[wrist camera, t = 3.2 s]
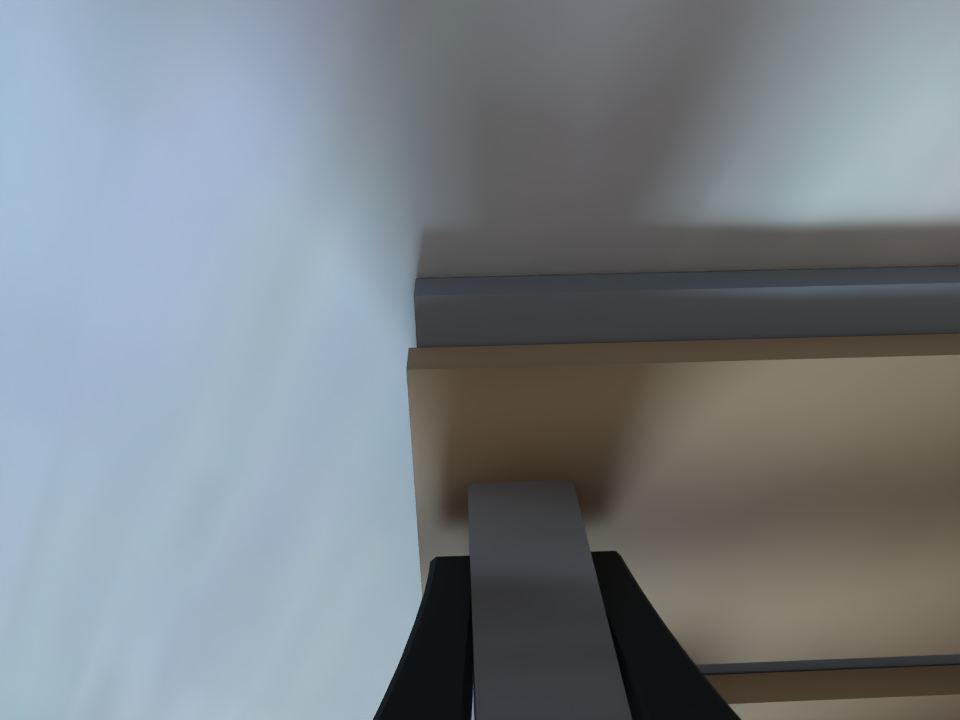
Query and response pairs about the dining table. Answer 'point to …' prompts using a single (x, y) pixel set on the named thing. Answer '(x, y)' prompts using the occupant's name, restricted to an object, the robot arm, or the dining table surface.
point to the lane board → (696, 332)
